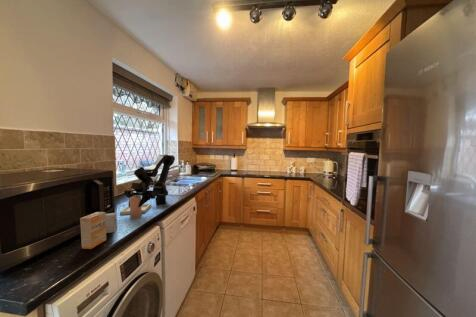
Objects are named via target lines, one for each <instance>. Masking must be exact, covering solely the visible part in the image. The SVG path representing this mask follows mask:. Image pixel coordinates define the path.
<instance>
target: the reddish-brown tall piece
mask: <svg viewBox="0 0 476 317" xmlns="http://www.w3.org/2000/svg"><path fill="white" fill-rule="evenodd" d="M141 199H142V196H133V197H130V214H129V216H130V219H133V220H134V219H139V218H141V217H142V216H143V215H142V214H143V213H142V211H141V207H138V206H139V203H140V201H141Z"/></svg>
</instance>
